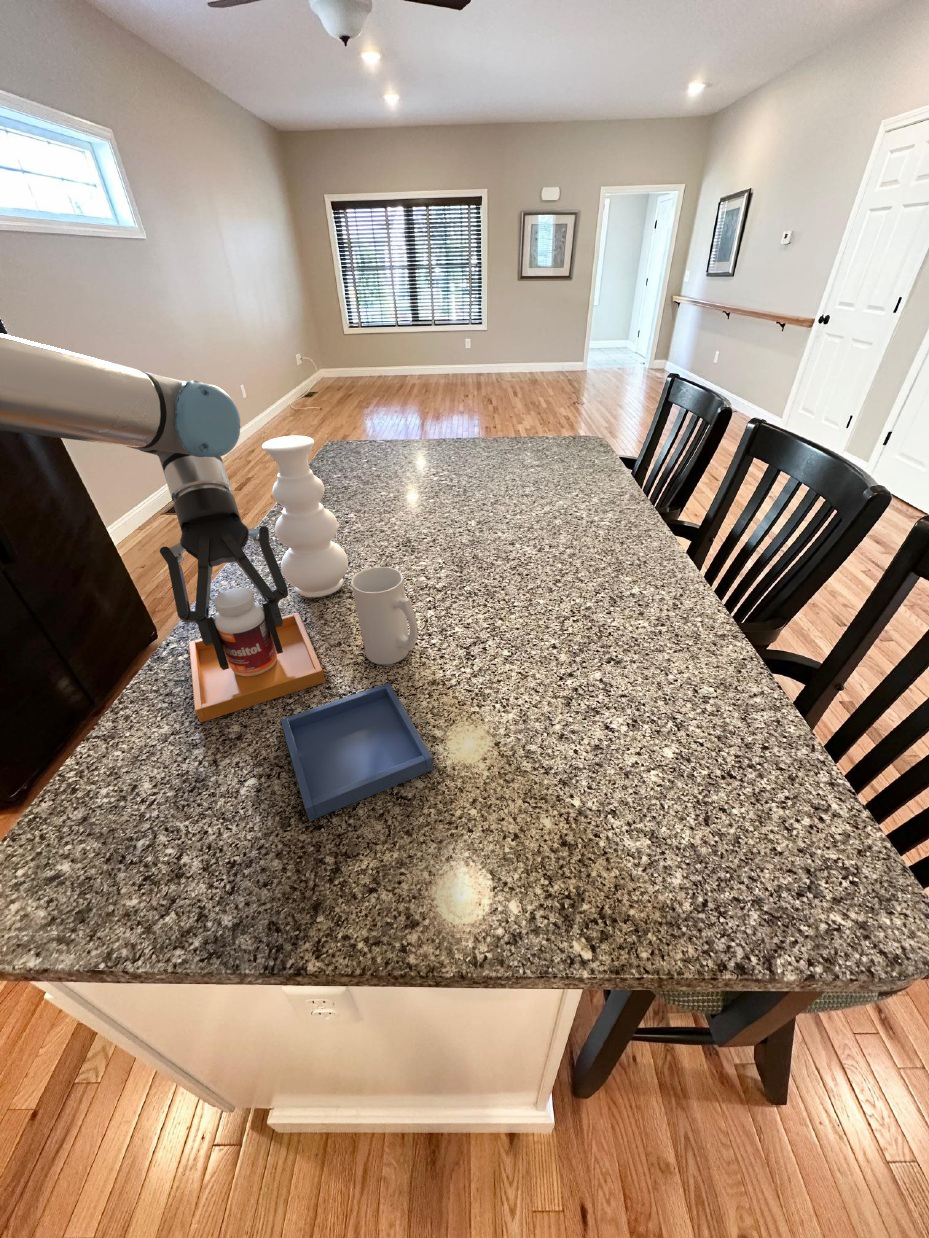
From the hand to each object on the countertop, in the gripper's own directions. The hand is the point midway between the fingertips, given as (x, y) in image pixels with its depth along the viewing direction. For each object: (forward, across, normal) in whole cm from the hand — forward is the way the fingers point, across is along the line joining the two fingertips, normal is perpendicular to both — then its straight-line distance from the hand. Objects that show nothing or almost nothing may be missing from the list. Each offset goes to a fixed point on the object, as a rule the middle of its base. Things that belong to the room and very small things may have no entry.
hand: (252, 659), depth 67 cm
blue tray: (+15, -8, +10) cm, 20 cm away
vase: (-12, -13, -18) cm, 25 cm away
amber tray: (0, 0, -5) cm, 5 cm away
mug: (+5, -18, 0) cm, 19 cm away
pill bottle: (0, 0, -5) cm, 5 cm away
